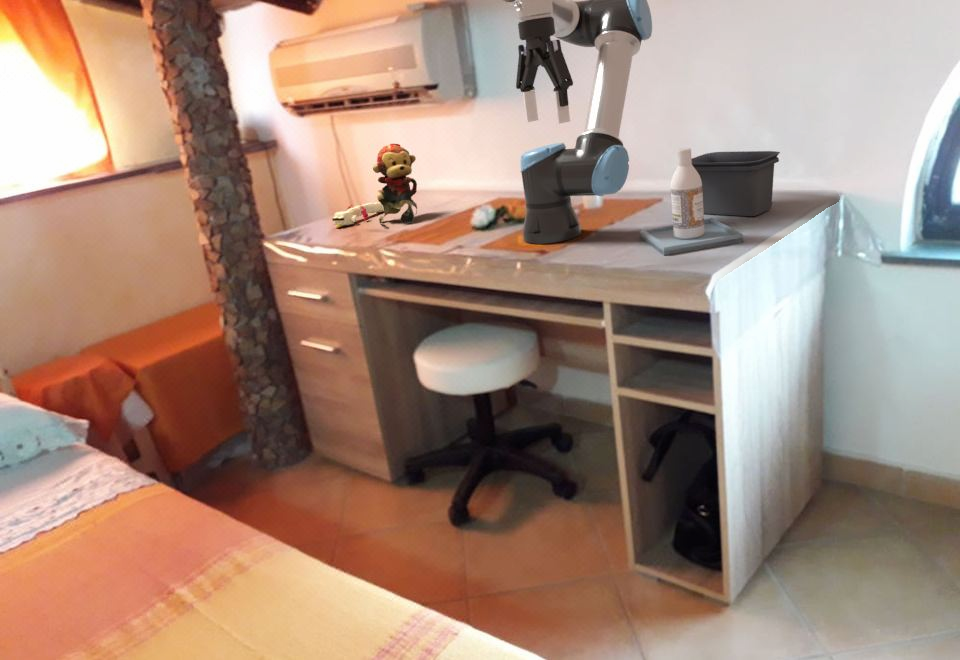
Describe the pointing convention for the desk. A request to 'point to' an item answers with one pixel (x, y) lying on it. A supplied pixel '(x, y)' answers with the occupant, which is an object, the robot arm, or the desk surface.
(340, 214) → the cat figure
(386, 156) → the stuffed monkey
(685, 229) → the bath foam
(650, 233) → the tray
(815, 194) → the desk surface
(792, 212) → the desk surface
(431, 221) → the desk surface
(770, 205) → the storage bin
